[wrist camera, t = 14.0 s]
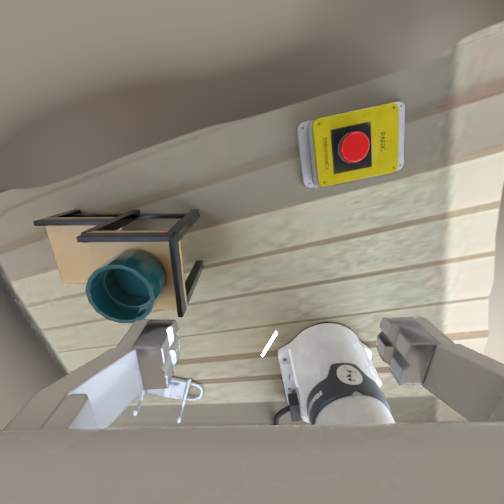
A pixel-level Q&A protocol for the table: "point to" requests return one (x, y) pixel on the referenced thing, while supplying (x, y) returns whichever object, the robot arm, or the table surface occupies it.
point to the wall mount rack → (173, 393)
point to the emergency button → (352, 145)
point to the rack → (122, 249)
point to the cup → (126, 286)
